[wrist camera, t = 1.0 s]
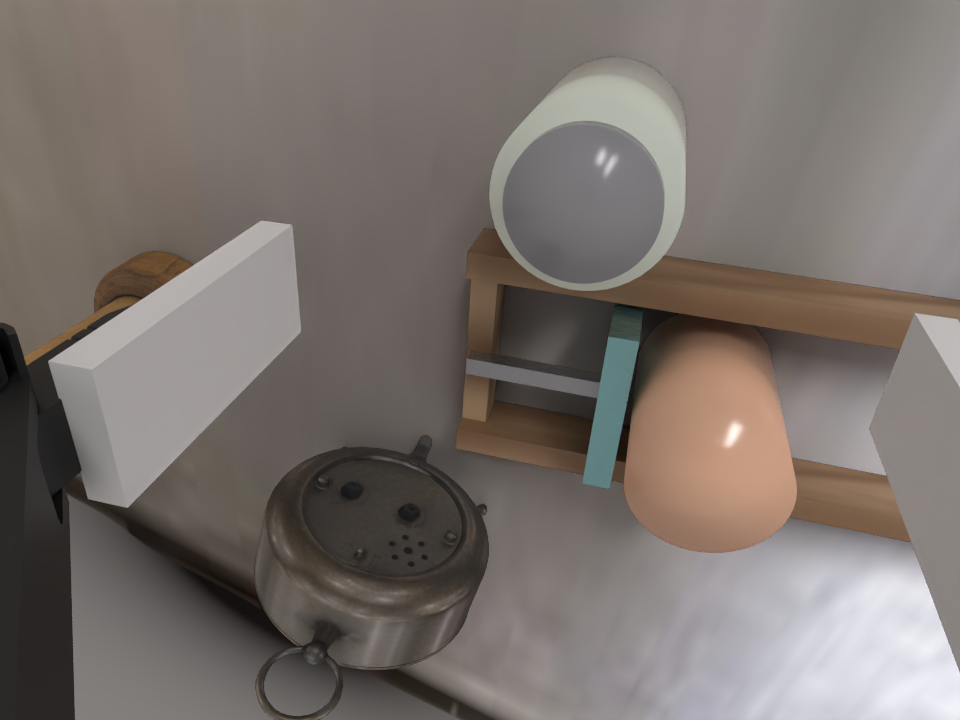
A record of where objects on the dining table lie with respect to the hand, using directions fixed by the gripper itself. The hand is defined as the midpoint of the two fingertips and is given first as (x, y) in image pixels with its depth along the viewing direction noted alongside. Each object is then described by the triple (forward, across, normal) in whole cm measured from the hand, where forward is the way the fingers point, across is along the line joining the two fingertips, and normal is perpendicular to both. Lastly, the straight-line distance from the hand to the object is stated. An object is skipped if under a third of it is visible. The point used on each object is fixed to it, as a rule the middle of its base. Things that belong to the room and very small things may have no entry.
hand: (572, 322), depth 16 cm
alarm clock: (+17, -9, -19) cm, 27 cm away
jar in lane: (+17, +5, -10) cm, 20 cm away
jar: (+17, -1, 0) cm, 17 cm away
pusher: (+16, -2, -10) cm, 19 cm away
